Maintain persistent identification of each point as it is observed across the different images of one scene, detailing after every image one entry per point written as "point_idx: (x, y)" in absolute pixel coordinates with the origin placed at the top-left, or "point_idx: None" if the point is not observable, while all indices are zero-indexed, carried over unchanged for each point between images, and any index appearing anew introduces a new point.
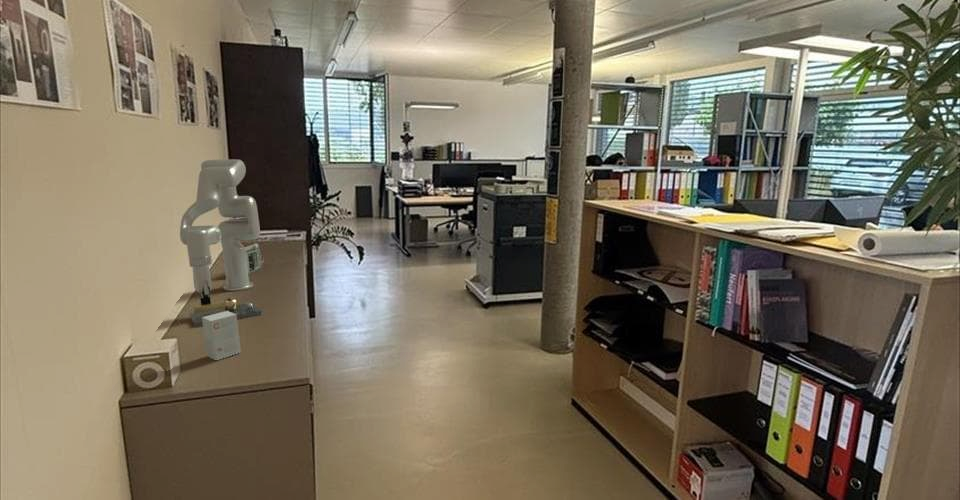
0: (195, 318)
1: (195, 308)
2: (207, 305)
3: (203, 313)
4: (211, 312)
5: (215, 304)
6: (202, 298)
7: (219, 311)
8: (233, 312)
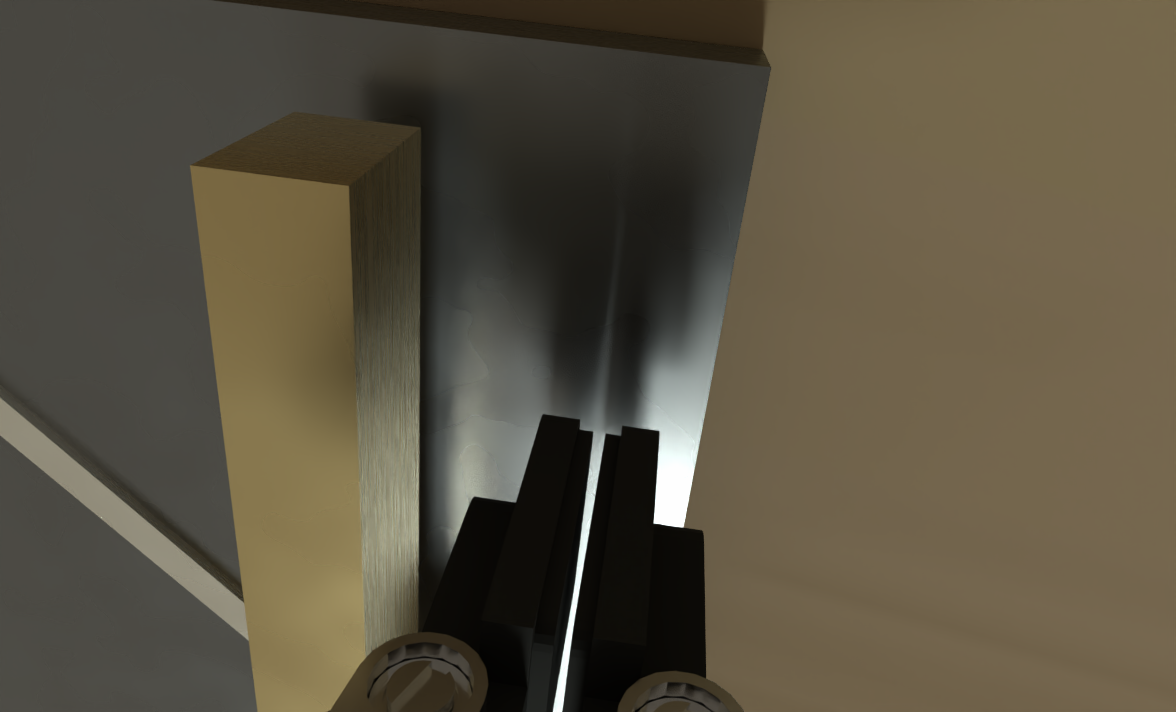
0: (183, 77)
1: (221, 219)
2: (241, 538)
3: (512, 345)
4: (463, 479)
5: (262, 681)
6: (382, 656)
7: (428, 594)
8: (195, 702)
